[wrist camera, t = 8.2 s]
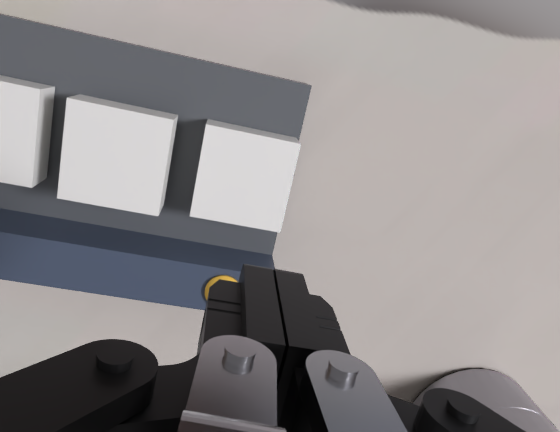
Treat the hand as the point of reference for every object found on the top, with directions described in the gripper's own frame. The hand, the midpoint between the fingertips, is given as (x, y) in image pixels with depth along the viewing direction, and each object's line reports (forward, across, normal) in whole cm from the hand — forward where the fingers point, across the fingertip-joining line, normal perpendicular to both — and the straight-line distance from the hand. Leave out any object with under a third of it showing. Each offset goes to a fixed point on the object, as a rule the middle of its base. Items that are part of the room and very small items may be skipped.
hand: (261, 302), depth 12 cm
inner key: (+14, 0, 0) cm, 15 cm away
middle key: (+14, +6, 0) cm, 15 cm away
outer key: (+14, +12, 0) cm, 19 cm away
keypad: (+17, +6, +1) cm, 18 cm away
